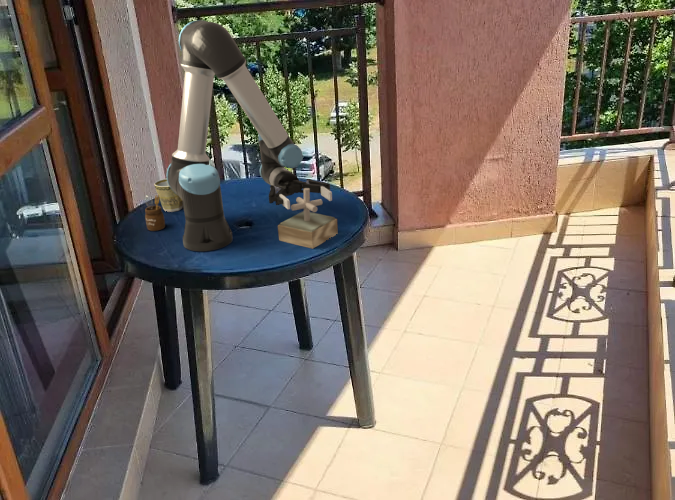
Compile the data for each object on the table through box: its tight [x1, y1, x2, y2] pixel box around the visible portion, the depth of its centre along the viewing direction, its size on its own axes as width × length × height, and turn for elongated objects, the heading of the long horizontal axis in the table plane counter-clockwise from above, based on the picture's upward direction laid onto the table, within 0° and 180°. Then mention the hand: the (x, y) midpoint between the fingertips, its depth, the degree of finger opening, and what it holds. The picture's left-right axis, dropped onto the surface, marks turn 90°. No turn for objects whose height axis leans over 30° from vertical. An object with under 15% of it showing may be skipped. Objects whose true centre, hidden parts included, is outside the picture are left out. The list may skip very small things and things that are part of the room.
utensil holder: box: [144, 194, 166, 232], centre depth 209 cm, size 6×6×12 cm
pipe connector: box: [290, 188, 323, 221], centre depth 194 cm, size 10×10×10 cm
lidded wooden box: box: [277, 210, 339, 250], centre depth 197 cm, size 13×13×6 cm
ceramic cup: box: [153, 177, 184, 213], centre depth 226 cm, size 13×10×10 cm
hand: (310, 200), depth 190 cm, fingers open, 13 cm apart
